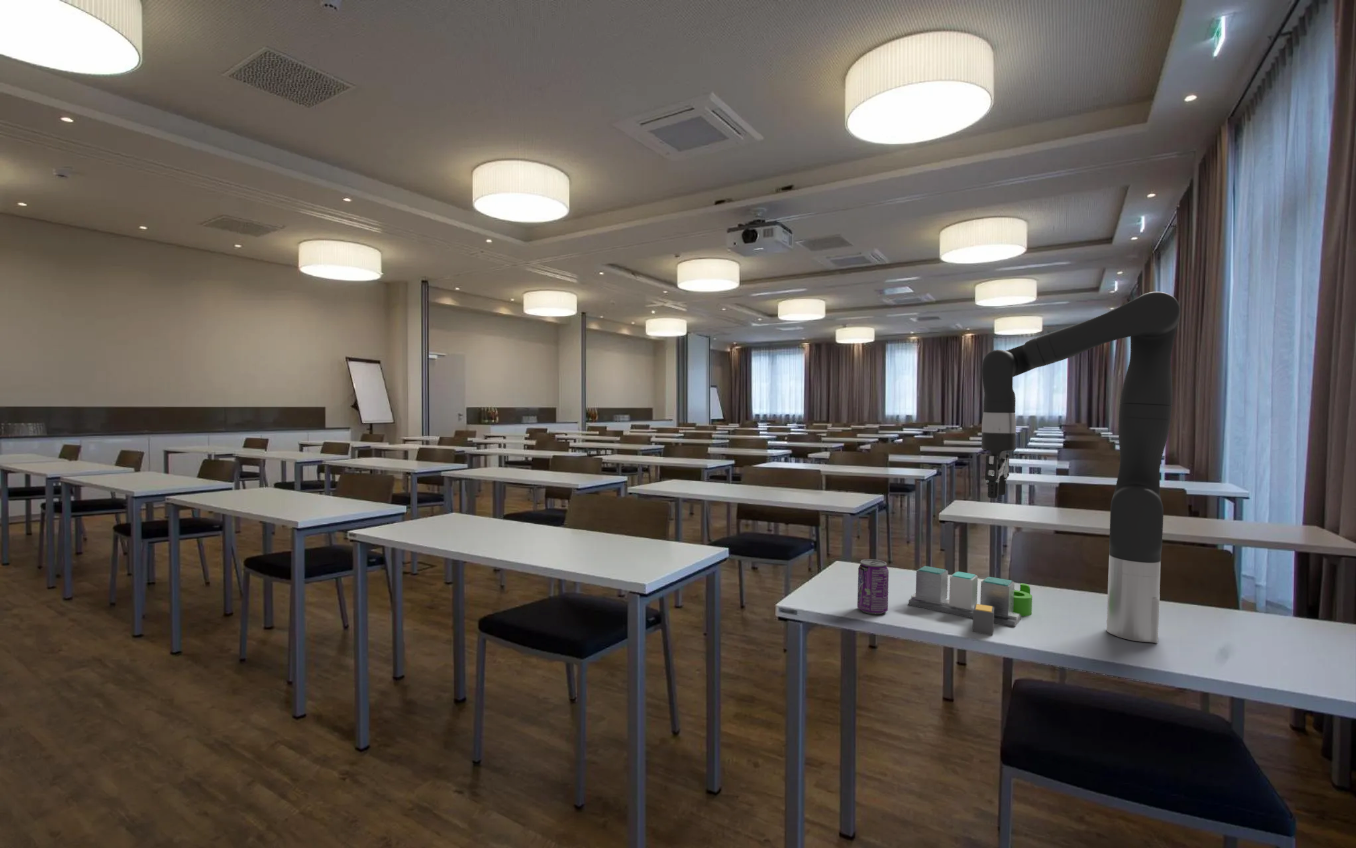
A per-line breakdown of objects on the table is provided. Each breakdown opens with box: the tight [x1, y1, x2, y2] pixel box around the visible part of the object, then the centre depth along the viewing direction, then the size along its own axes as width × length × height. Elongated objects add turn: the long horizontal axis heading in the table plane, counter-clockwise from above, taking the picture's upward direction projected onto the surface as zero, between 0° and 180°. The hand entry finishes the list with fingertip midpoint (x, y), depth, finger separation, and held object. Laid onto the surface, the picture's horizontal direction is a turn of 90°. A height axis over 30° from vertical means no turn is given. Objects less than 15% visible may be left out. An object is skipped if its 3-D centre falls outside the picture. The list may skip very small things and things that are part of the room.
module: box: [948, 570, 979, 609], centre depth 152 cm, size 5×6×7 cm
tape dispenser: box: [1013, 582, 1033, 617], centre depth 157 cm, size 15×7×5 cm, turn 151°
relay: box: [972, 603, 995, 636], centre depth 140 cm, size 4×5×5 cm
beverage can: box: [856, 558, 890, 615], centre depth 152 cm, size 7×7×12 cm
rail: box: [908, 565, 1022, 628], centre depth 152 cm, size 24×7×9 cm, turn 51°
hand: (996, 496), depth 155 cm, fingers open, 8 cm apart
